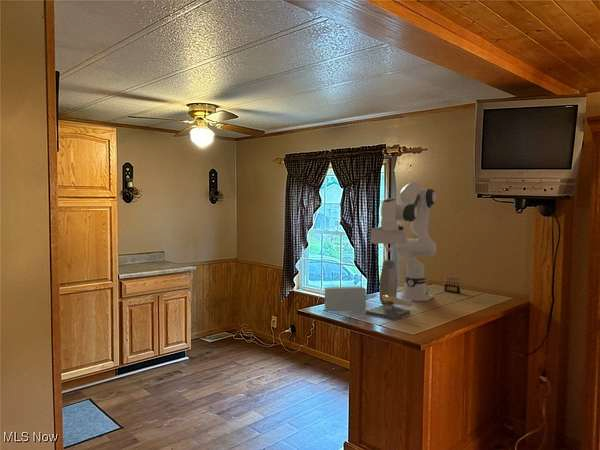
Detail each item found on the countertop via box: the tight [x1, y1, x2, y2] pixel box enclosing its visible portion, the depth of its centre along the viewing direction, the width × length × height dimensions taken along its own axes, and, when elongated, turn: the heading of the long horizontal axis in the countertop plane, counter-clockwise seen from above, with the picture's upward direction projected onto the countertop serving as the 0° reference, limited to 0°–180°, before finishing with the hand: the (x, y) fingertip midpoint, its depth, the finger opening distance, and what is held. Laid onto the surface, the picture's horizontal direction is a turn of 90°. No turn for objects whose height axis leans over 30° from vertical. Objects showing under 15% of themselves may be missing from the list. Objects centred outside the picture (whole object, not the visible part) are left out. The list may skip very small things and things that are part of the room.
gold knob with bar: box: [381, 295, 413, 307], centre depth 247 cm, size 18×9×4 cm, turn 48°
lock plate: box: [365, 304, 411, 321], centre depth 251 cm, size 18×18×6 cm
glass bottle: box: [379, 259, 398, 306], centre depth 270 cm, size 10×10×28 cm
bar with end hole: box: [324, 285, 367, 312], centre depth 259 cm, size 23×6×13 cm, turn 101°
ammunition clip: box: [443, 274, 461, 294], centre depth 312 cm, size 11×2×12 cm, turn 52°
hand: (388, 251), depth 255 cm, fingers closed
